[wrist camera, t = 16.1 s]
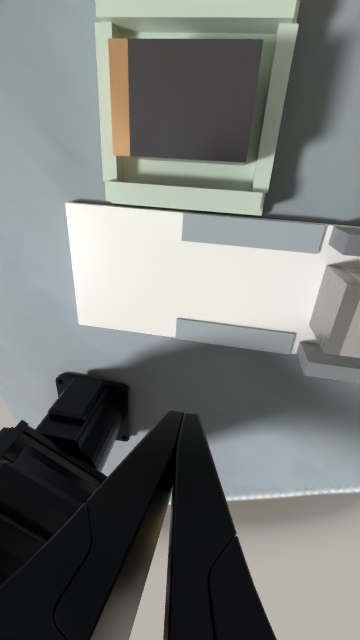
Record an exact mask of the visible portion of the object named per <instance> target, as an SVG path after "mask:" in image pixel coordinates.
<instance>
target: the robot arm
mask: <svg viewBox="0 0 360 640" xmlns="http://www.w3.org/2000/svg"><path fill="white" fill-rule="evenodd" d="M62 380H63V381H62ZM56 386H57V392H58V397H59V398H58V399H57V400H56V401H55V403H54V404H53V405H52V406H51V408H50V409H49V410H48V414H47V415H46V416H45V418H44V419H43V420H42V421H41V423H40V424H39V425H38V427H37V428H36V429H33V428H31V427H30V426H28V423H26V422H25V421H23V420H21V422H20V423H19V424H18V425H17V426H16V427H15V428H13V427H11V428H3V429H2V430H1V431H0V640H129V637H130V634H131V630H132V627H133V624H134V620H135V616H136V613H137V610H138V606H139V603H140V600H141V596H142V593H143V589H144V586H145V582H146V579H147V575H148V572H149V569H150V565H151V562H152V558H153V555H154V552H155V548H156V545H157V541H158V538H159V534H160V531H161V527H162V524H163V521H164V517H165V514H166V511H167V507H168V504H169V500H170V496H171V492H172V501H171V517H170V518H171V519H170V534H169V553H168V568H167V585H166V602H165V619H164V636H163V640H277V639H276V637H275V635H274V632H273V630H272V628H271V625H270V623H269V621H268V618H267V616H266V613H265V611H264V608H263V606H262V603H261V601H260V598H259V596H258V594H257V591H256V588H255V586H254V583H253V580H252V577H251V575H250V572H249V569H248V566H247V563H246V560H245V557H244V554H243V552H242V548H241V545H240V542H239V539H238V537H237V536H236V530H235V527H234V524H233V521H232V518H231V514H230V511H229V508H228V505H227V502H226V499H225V495H224V492H223V489H222V486H221V483H220V480H219V477H218V474H217V470H216V467H215V464H214V461H213V458H212V455H211V452H210V448H209V445H208V442H207V439H206V436H205V433H204V430H203V427H202V423H201V420H200V417H199V415H198V414H197V413H193V412H187V411H186V412H184V413H183V411H181V410H175V409H169V410H168V411H167V412H166V413H165V415H164V416H163V417H162V418H161V419H160V420H159V421H158V422H157V423H156V424H155V426H154V427H153V428H152V429H151V430H150V431H149V432H148V433H147V434H146V435H145V437H144V438H143V439H142V440H141V441H140V442H139V443H138V444H137V445H136V447H135V448H134V449H133V450H132V451H131V452H130V453H129V454H128V455H127V456H126V458H125V459H124V460H123V461H122V462H121V463H120V464H119V465H118V466H117V468H116V469H115V470H114V471H113V472H112V473H111V474H110V475H109V476H108V477H107V476H106V475H104V474H103V473H101V471H102V469H103V467H104V465H105V462H106V460H107V458H108V456H109V453H110V451H111V449H112V447H113V444H114V442H115V440H120V441H128V440H129V438H130V436H131V430H130V389H129V387H128V386H127V385H125V384H121V383H115V382H108V381H102V380H96V379H90V378H83V377H77V376H71V375H65V374H60V375H59V376H58V377H57V378H56ZM122 389H123V390H124V391H123V390H122ZM172 487H173V489H172Z"/></svg>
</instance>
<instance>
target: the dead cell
mask: <svg viewBox="0 0 360 640" xmlns="http://www.w3.org/2000/svg"><path fill="white" fill-rule="evenodd" d="M309 326H310V328H311V329H312V331H313V333H314V335H315V337H316V339H317V341H318V343H319V345H320V347H321V349H322V351H323V353H325V354H332V355H340V356H348V357H355V358H360V268H353V267H343V266H332V265H326V268H325V272H324V275H323V279H322V282H321V285H320V289H319V292H318V295H317V299H316V302H315V306H314V309H313V312H312V316H311V319H310V322H309Z"/></svg>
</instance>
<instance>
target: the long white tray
mask: <svg viewBox="0 0 360 640" xmlns="http://www.w3.org/2000/svg"><path fill="white" fill-rule="evenodd" d="M65 205H66V214H67V223H68V232H69V241H70V250H71V259H72V268H73V277H74V286H75V294H76V303H77V312H78V321H79V324H81V325H88V326H95V327H102V328H110V329H117V330H124V331H132V332H139V333H146V334H153V335H161V336H168V337H175V339H179V340H187V341H194V342H201V343H209V344H216V345H223V346H230V347H238V348H245V349H252V350H259V351H267V352H274V353H281V354H288V355H289V353H292V354H297V357H298V360H299V363H300V365H301V368H302V371H303V374H304V375H305V376H312V377H318V378H325V379H332V380H339V381H346V382H353V383H360V358H355V357H348V356H340V355H332V354H325V353H323V351H322V349H321V347H320V345H319V343H318V341H317V339H316V337H315V335H314V333H313V331H312V329H311V328H310V326H309V322H310V319H311V316H312V312H313V309H314V306H315V302H316V299H317V295H318V292H319V289H320V285H321V282H322V279H323V275H324V272H325V268H326V265H332V266H343V267H353V268H360V226H348V225H336V224H324V223H312V222H301V221H289V220H277V219H265V218H253V217H241V216H230V215H218V214H206V213H194V212H182V211H170V210H159V209H147V208H135V207H123V206H111V205H99V204H88V203H76V202H67V203H65Z"/></svg>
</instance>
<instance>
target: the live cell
mask: <svg viewBox="0 0 360 640" xmlns="http://www.w3.org/2000/svg"><path fill="white" fill-rule="evenodd" d="M263 40H264V39H139V38H108V51H109V74H110V97H111V120H112V143H113V155H114V156H120V157H126V158H131V159H138V160H155V161H173V162H190V163H207V164H225V165H242V166H244V164H245V163H246V160H247V153H248V146H249V139H250V132H251V125H252V118H253V111H254V103H255V96H256V89H257V82H258V75H259V68H260V61H261V54H262V47H263Z"/></svg>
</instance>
